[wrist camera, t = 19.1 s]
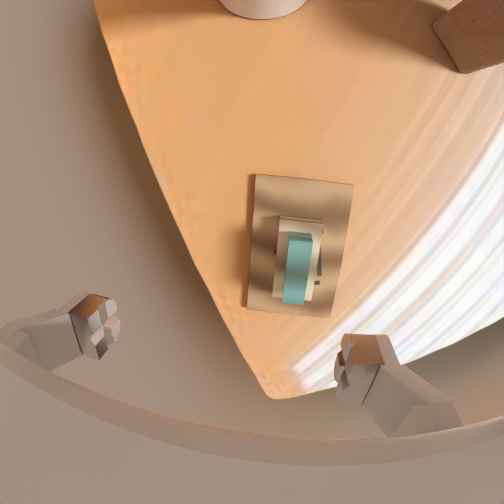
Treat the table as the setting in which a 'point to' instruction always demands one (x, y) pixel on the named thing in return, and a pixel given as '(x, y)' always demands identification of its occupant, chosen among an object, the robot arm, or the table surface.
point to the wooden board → (266, 238)
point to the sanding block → (296, 258)
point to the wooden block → (473, 34)
